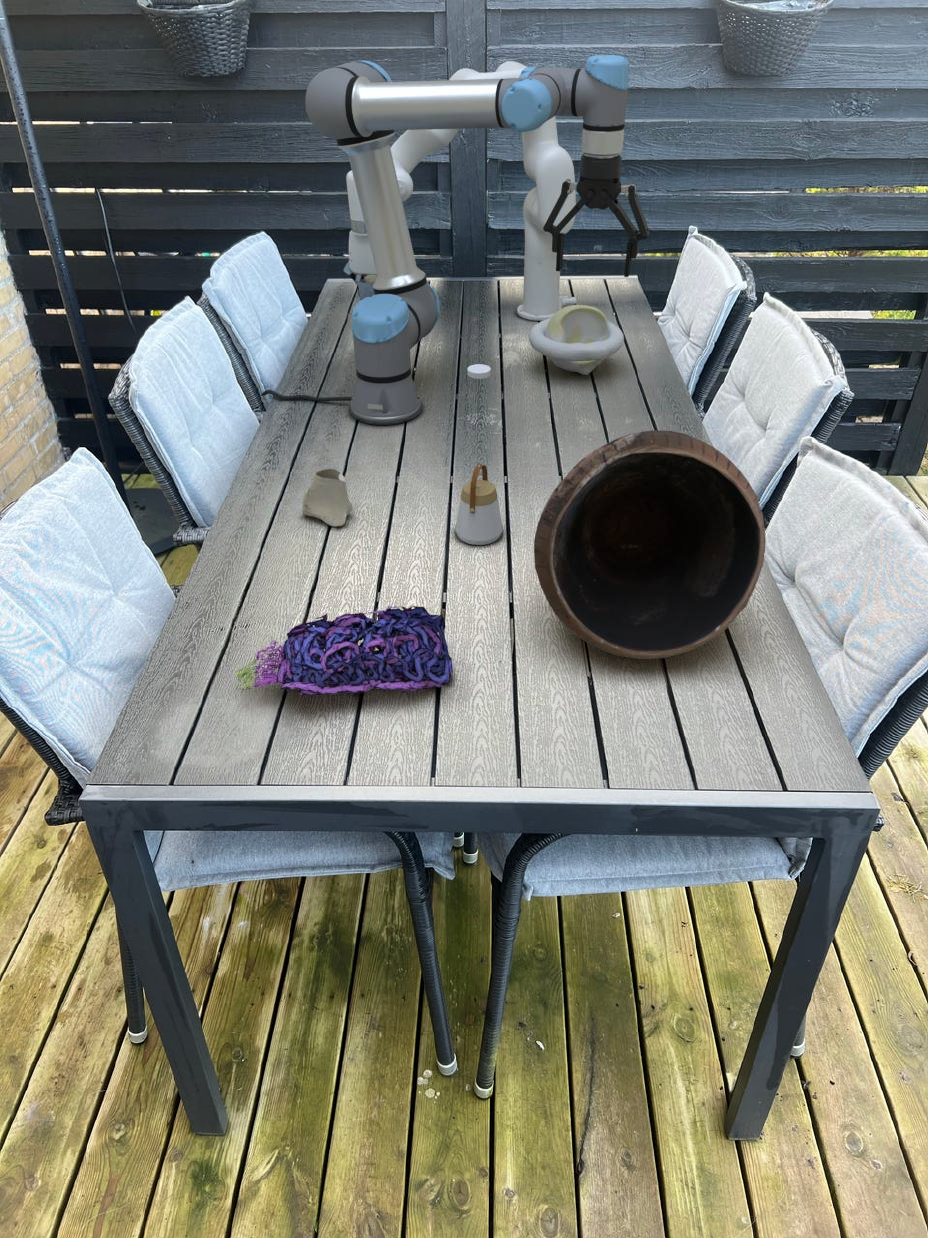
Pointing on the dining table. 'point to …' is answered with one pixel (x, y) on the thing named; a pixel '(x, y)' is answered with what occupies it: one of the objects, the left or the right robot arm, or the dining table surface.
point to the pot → (650, 545)
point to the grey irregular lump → (327, 498)
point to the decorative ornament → (358, 654)
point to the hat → (576, 338)
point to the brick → (367, 286)
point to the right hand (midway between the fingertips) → (374, 299)
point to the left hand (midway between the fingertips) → (592, 272)
